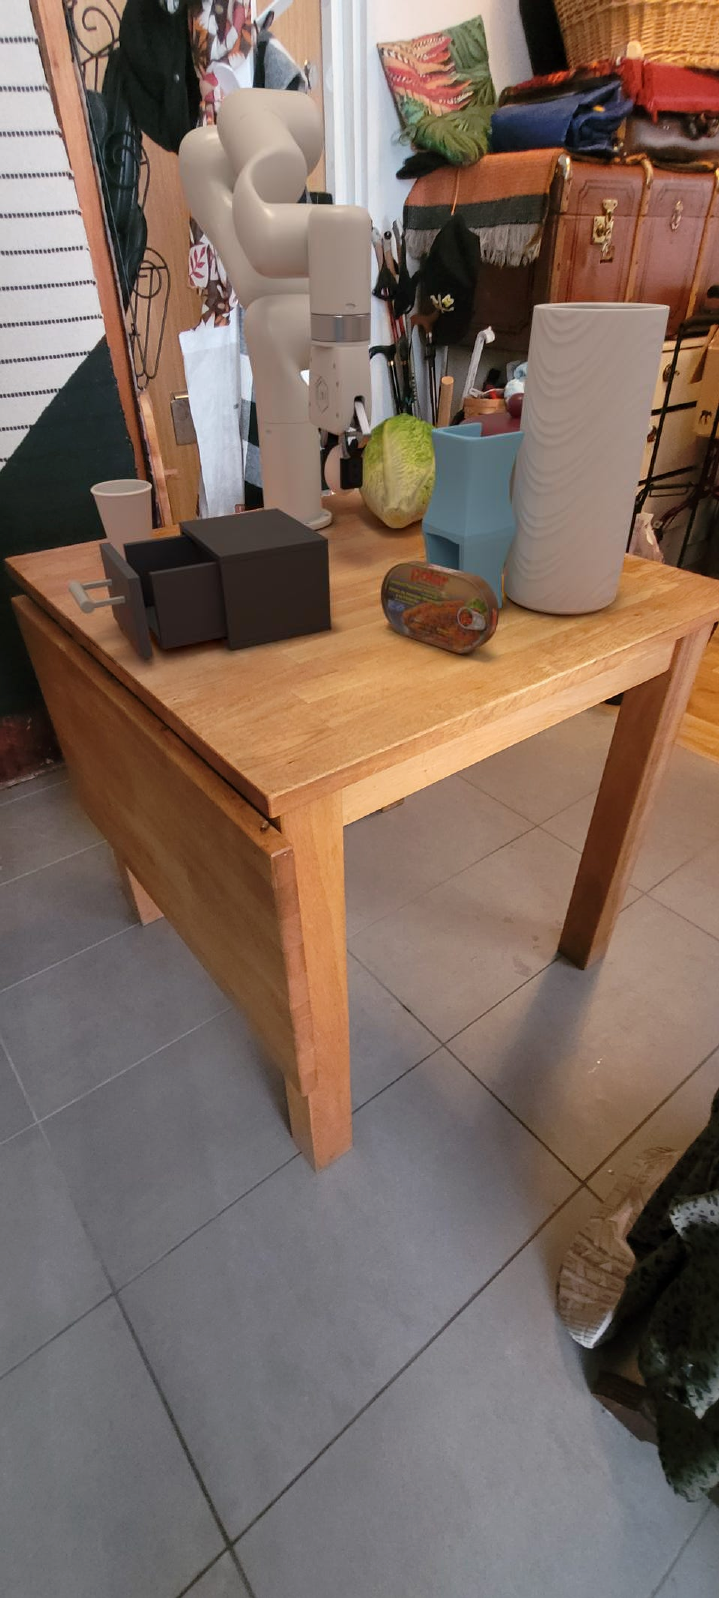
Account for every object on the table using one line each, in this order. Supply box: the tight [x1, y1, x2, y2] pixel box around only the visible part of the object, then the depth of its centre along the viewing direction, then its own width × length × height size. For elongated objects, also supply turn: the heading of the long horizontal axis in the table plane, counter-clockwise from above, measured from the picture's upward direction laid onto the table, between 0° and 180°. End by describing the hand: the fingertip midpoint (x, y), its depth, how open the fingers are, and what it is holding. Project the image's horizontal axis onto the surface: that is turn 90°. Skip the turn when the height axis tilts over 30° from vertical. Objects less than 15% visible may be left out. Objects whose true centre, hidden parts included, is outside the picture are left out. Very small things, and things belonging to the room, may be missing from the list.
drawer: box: [67, 534, 227, 660], centre depth 86 cm, size 16×13×9 cm
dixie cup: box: [90, 478, 154, 561], centre depth 110 cm, size 8×8×10 cm
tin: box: [380, 560, 500, 654], centre depth 85 cm, size 15×3×8 cm, turn 47°
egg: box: [325, 444, 355, 497], centre depth 105 cm, size 5×5×7 cm
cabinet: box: [178, 508, 332, 651], centre depth 90 cm, size 13×15×11 cm
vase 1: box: [421, 422, 525, 609], centre depth 91 cm, size 8×8×20 cm
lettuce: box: [357, 412, 437, 529], centre depth 126 cm, size 15×24×16 cm
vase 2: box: [503, 301, 671, 616], centre depth 89 cm, size 14×14×32 cm
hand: (342, 481), depth 106 cm, fingers closed on egg, 4 cm apart
